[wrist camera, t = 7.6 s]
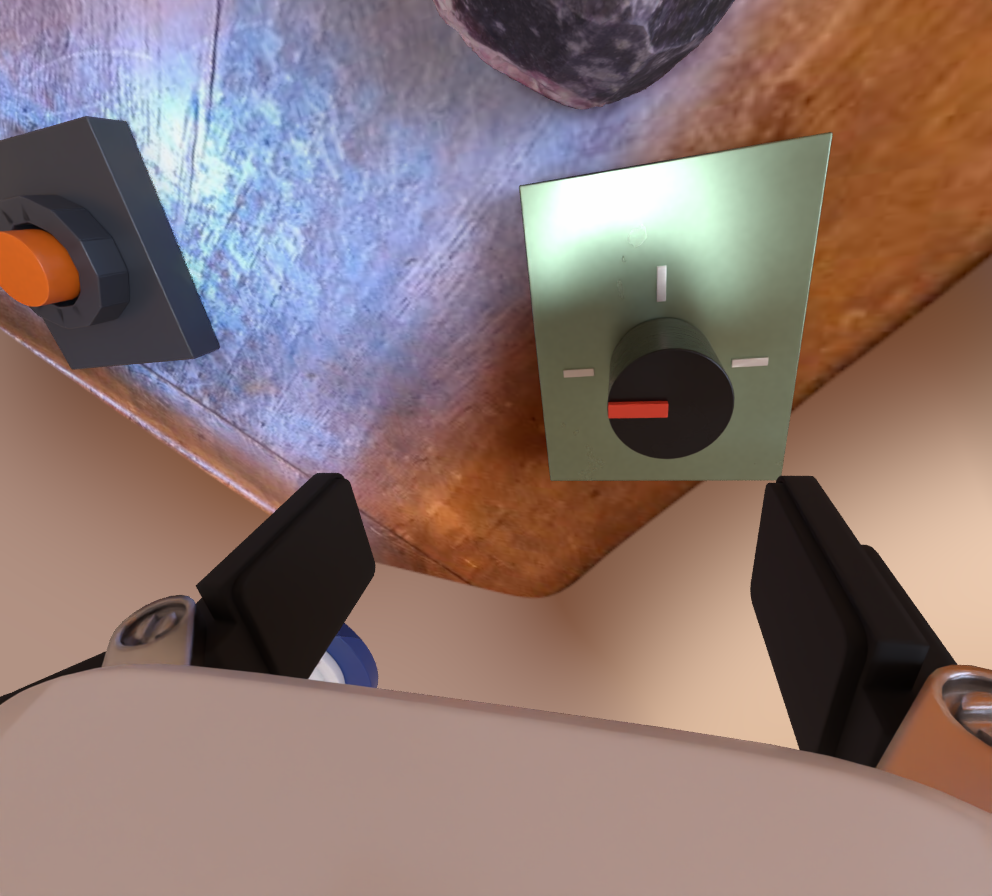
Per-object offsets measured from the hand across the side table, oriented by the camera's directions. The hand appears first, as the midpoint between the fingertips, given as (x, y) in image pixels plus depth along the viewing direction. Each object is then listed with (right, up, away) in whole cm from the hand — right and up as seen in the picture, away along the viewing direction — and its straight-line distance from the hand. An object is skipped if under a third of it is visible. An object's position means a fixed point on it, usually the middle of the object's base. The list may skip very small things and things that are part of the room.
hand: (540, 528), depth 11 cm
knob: (+6, +5, +10) cm, 13 cm away
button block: (-24, +13, +18) cm, 33 cm away
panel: (+7, +8, +13) cm, 16 cm away
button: (-25, +12, +15) cm, 31 cm away
